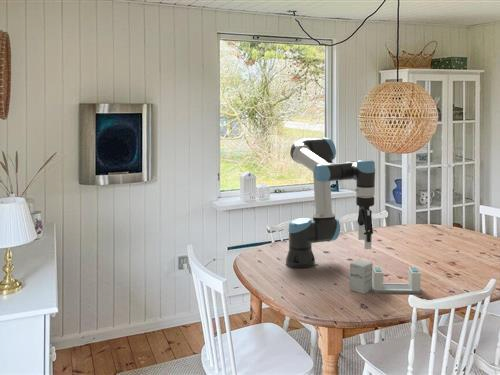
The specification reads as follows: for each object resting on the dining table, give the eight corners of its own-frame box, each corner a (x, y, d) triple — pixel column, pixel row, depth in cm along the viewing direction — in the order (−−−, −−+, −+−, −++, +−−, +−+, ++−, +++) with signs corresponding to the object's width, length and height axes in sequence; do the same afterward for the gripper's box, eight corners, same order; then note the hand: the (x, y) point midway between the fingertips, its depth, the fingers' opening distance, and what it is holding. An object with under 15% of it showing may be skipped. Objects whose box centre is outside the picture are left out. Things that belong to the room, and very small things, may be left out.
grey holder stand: (373, 292, 204) (374, 272, 202) (371, 285, 213) (371, 265, 211) (421, 293, 201) (422, 272, 200) (416, 285, 210) (417, 265, 208)
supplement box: (349, 290, 208) (349, 262, 206) (358, 285, 213) (358, 258, 211) (363, 294, 203) (363, 266, 200) (372, 289, 208) (373, 262, 205)
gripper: (351, 191, 212) (350, 236, 216) (362, 202, 188) (361, 253, 191) (368, 190, 212) (367, 235, 216) (381, 202, 187) (380, 253, 191)
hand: (364, 244), depth 204 cm, fingers open, 13 cm apart
